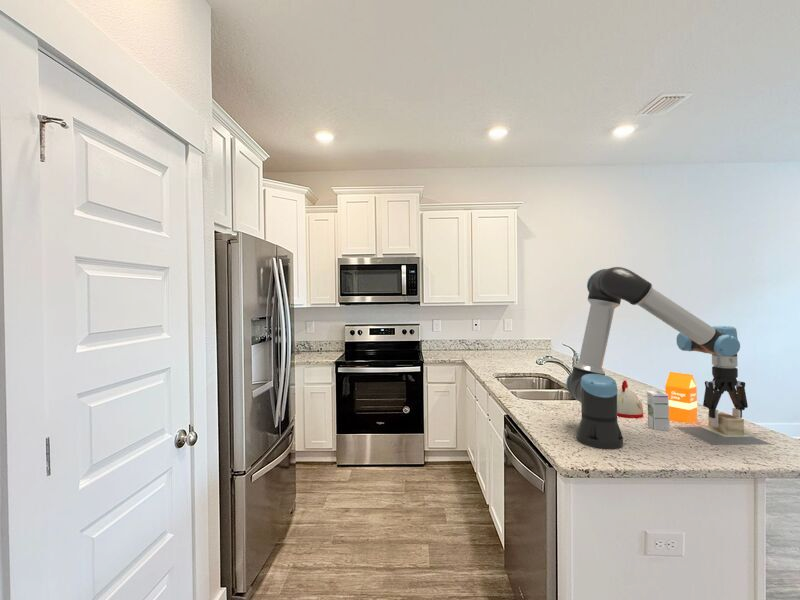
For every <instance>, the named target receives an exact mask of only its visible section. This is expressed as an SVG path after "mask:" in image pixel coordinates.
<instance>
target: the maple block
mask: <svg viewBox="0 0 800 600" xmlns="http://www.w3.org/2000/svg"><path fill="white" fill-rule="evenodd" d="M707 416H708V417H707V418H708V419H707V421H708V426H707V427H709V428H710V429H712V430H715V431H717V432H720V433H722V434H725V435H727V436H744V433H745V419H744V418H738V417H735V416H733V415H732V414H730V413H729V414H728V413H726V412H718V427H714V426H711V417H709V412H708V413H707Z"/></svg>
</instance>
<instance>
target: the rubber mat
mask: <svg viewBox="0 0 800 600" xmlns="http://www.w3.org/2000/svg"><path fill="white" fill-rule="evenodd" d="M673 428H675V429H677V430H679V431H681V432H683V433H685V434H688V435H690V436H692V437H694V438H697V439H698V440H701V441H703V442H706V443H707V444H710V445H713V446H731V445H733V446H734V445H736V446H737V445H738V446H739V445H740V446H742V445H744V446H745V445H748V446H749V445H754V446H755V445H772V443H771V442H767V441H765V440H763V439H760V438H757V437H755V436H752V435H750V434H748V433H745V432H744V436H727V435H725V434H722V433H720V432H717V431H715V430H712V429H710V428H709V427H708V426H674V427H673Z"/></svg>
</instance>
